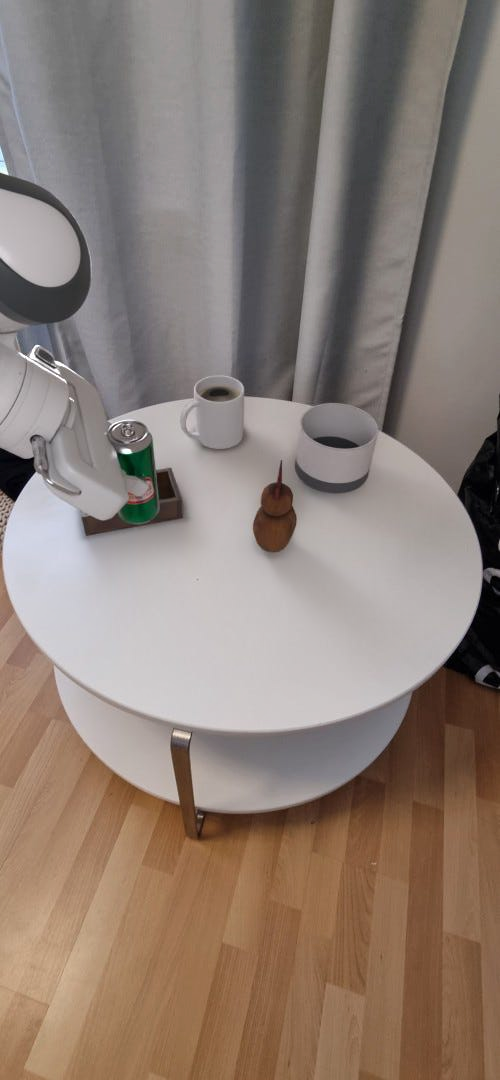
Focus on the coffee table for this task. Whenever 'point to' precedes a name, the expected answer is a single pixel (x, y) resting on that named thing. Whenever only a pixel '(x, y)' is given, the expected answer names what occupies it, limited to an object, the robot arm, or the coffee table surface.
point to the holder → (168, 511)
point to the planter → (335, 447)
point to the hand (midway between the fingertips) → (138, 469)
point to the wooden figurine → (275, 516)
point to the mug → (216, 412)
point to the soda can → (136, 468)
